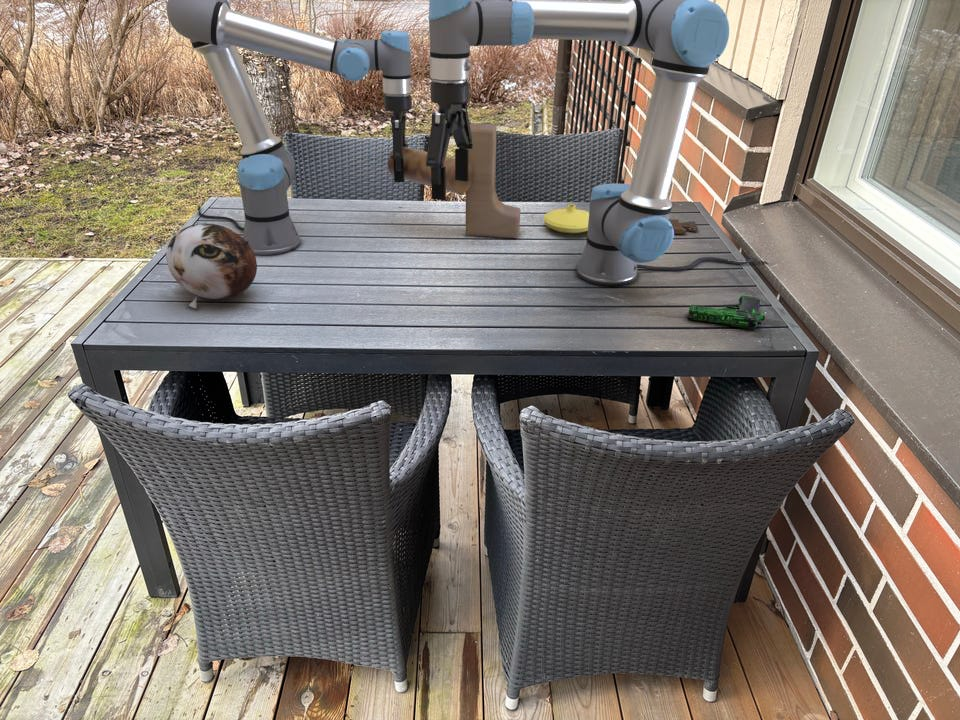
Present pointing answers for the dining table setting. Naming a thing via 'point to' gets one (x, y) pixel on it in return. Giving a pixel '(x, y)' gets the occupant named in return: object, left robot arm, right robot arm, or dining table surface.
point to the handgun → (731, 314)
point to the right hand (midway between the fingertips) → (450, 189)
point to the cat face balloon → (211, 261)
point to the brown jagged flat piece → (682, 226)
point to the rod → (422, 174)
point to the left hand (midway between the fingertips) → (400, 176)
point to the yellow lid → (567, 220)
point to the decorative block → (487, 190)
